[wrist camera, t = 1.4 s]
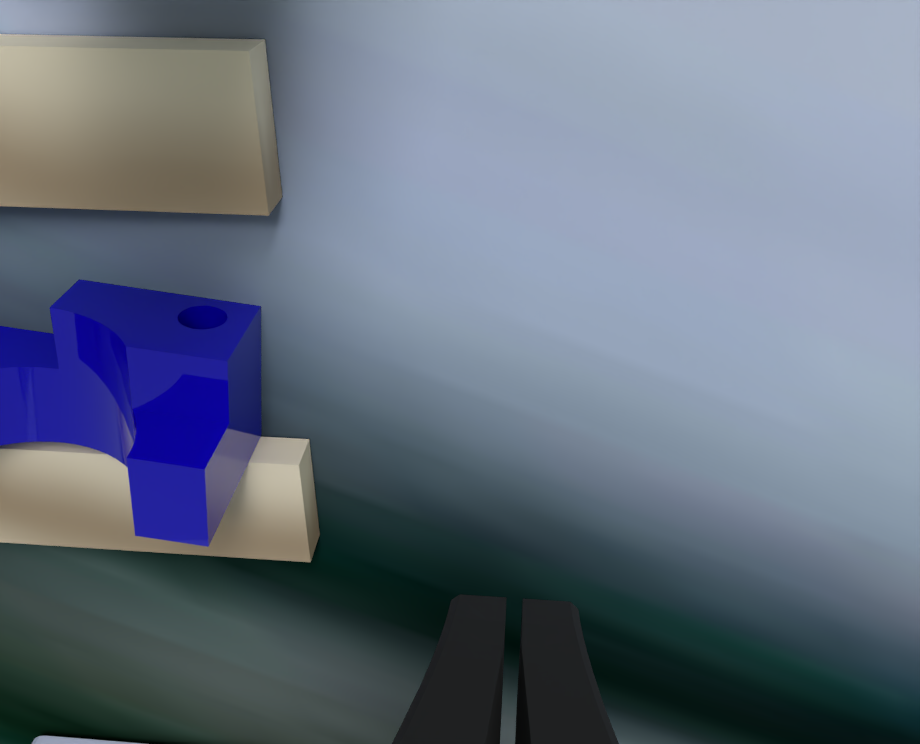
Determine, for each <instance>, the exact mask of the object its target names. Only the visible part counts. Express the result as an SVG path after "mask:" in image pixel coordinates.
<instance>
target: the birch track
mask: <svg viewBox="0 0 920 744" xmlns="http://www.w3.org/2000/svg"><path fill="white" fill-rule="evenodd" d="M281 198H282V189H281V180H280V171H279V162H278V153H277V144H276V135H275V126H274V117H273V108H272V99H271V90H270V81H269V72H268V62H267V53H266V44H265V39H218V38H169V37H119V36H69V35H20V34H0V206H10V207H39V208H67V209H96V210H124V211H153V212H181V213H209V214H238V215H266V216H269V215H270V213H271V212H272V210H273V209H274V208H275V206H276V205H277V204H278V202H279V201H280V200H281ZM319 535H320V532H319V523H318V514H317V505H316V496H315V487H314V478H313V469H312V460H311V451H310V442H309V439H296V438H277V437H260V439H259V442H258V444H257V446H256V448H255V450H254V452H253V454H252V456H251V458H250V461H249V463H248V465H247V467H246V469H245V471H244V473H243V475H242V477H241V480H240V482H239V484H238V486H237V488H236V490H235V492H234V494H233V496H232V498H231V501H230V503H229V505H228V507H227V509H226V511H225V513H224V515H223V517H222V520H221V522H220V524H219V526H218V528H217V530H216V532H215V534H214V536H213V539H212V541H211V543H210V545H209V547H207V546H200V545H193V544H187V543H180V542H173V541H167V540H160V539H153V538H147V537H140V536H135V531H134V522H133V513H132V504H131V495H130V486H129V477H128V468H127V467H126V466H125V465H124V464H123V463H121V462H120V461H118V460H117V459H115V458H113V457H112V456H110V455H108V454H106V453H103V452H101V451H98V450H95V449H92V448H89V447H85V446H81V445H76V444H70V443H61V442H24V443H14V444H8V445H2V446H0V542H4V543H20V544H35V545H51V546H66V547H82V548H97V549H113V550H128V551H144V552H159V553H175V554H190V555H206V556H222V557H237V558H253V559H268V560H284V561H299V562H311V560H312V556H313V553H314V550H315V547H316V544H317V541H318V538H319Z"/></svg>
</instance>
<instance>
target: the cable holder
mask: <svg viewBox="0 0 920 744" xmlns="http://www.w3.org/2000/svg"><path fill="white" fill-rule="evenodd" d="M50 313H51V320H52V326H53V333H54V334H51V333H44V332H38V331H31V330H24V329H17V328H10V327H4V326H0V446H2V445H8V444H14V443H24V442H61V443H70V444H76V445H81V446H85V447H89V448H92V449H95V450H98V451H101V452H103V453H106V454H108V455H110V456H112V457H113V458H115V459H117V460H118V461H120V462H121V463H123V464H124V465H125V466H126V467H127V468H128V477H129V486H130V495H131V504H132V513H133V522H134V531H135V536H140V537H147V538H153V539H160V540H167V541H173V542H180V543H187V544H193V545H200V546H207V547H209V545H210V543H211V541H212V539H213V536H214V534H215V532H216V530H217V528H218V526H219V524H220V522H221V520H222V517H223V515H224V513H225V511H226V509H227V507H228V505H229V503H230V501H231V498H232V496H233V494H234V492H235V490H236V488H237V486H238V484H239V482H240V480H241V477H242V475H243V473H244V471H245V469H246V467H247V465H248V463H249V461H250V458H251V456H252V454H253V452H254V450H255V448H256V446H257V444H258V442H259V439H260V437H261V306H256V305H249V304H242V303H236V302H229V301H222V300H215V299H208V298H202V297H195V296H188V295H181V294H174V293H168V292H161V291H154V290H147V289H140V288H134V287H127V286H120V285H113V284H106V283H100V282H93V281H86V280H78V281H77V282H76V283H75V284H74V285H73V286H72V287H71V288H70V289H69V290H68V291H67V292H66V293H64V294H63V295H62V296H61V297H60V298H59V299H58V300H57V301H56V302H55V303H54V304H53V305H52V306H51V307H50Z"/></svg>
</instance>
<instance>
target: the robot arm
mask: <svg viewBox="0 0 920 744" xmlns="http://www.w3.org/2000/svg"><path fill="white" fill-rule="evenodd" d="M505 617H506V598H505V597H490V596H474V595H458V596H457V597H455V598H454V599H452V600H451V603H450V607H449V611H448V615H447V618H446V621H445V625H444V628H443V631H442V634H441V636H440V639H439V642H438V645H437V647H436V650H435V652H434V655H433V657H432V660H431V662H430V665H429V667H428V669H427V672H426V674H425V676H424V679H423V681H422V683H421V685H420V688H419V690H418V692H417V694H416V696H415V698H414V700H413V702H412V704H411V706H410V708H409V710H408V712H407V714H406V716H405V719H404V721H403V723H402V725H401V727H400V729H399V731H398V733H397V735H396V737H395V739H394V741H393V743H392V744H500V728H501V709H502V687H503V663H504V640H505ZM32 744H147V743H134V742H122V741H110V740H97V739H85V738H73V737H60V736H48V735H44V736H38V737H36V738H35V739H34V741H33V742H32ZM515 744H619V743H618V741H617V738H616V736H615V733H614V731H613V728H612V726H611V723H610V720H609V718H608V715H607V712H606V709H605V707H604V704H603V701H602V698H601V695H600V692H599V689H598V686H597V683H596V680H595V677H594V674H593V671H592V667H591V664H590V660H589V657H588V653H587V650H586V646H585V642H584V638H583V633H582V629H581V624H580V619H579V612H578V609H577V608H576V607H575V606H574V605H573V604H572V603H571V602H565V601H550V600H535V599H523V606H522V623H521V641H520V659H519V676H518V694H517V715H516V740H515Z"/></svg>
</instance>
